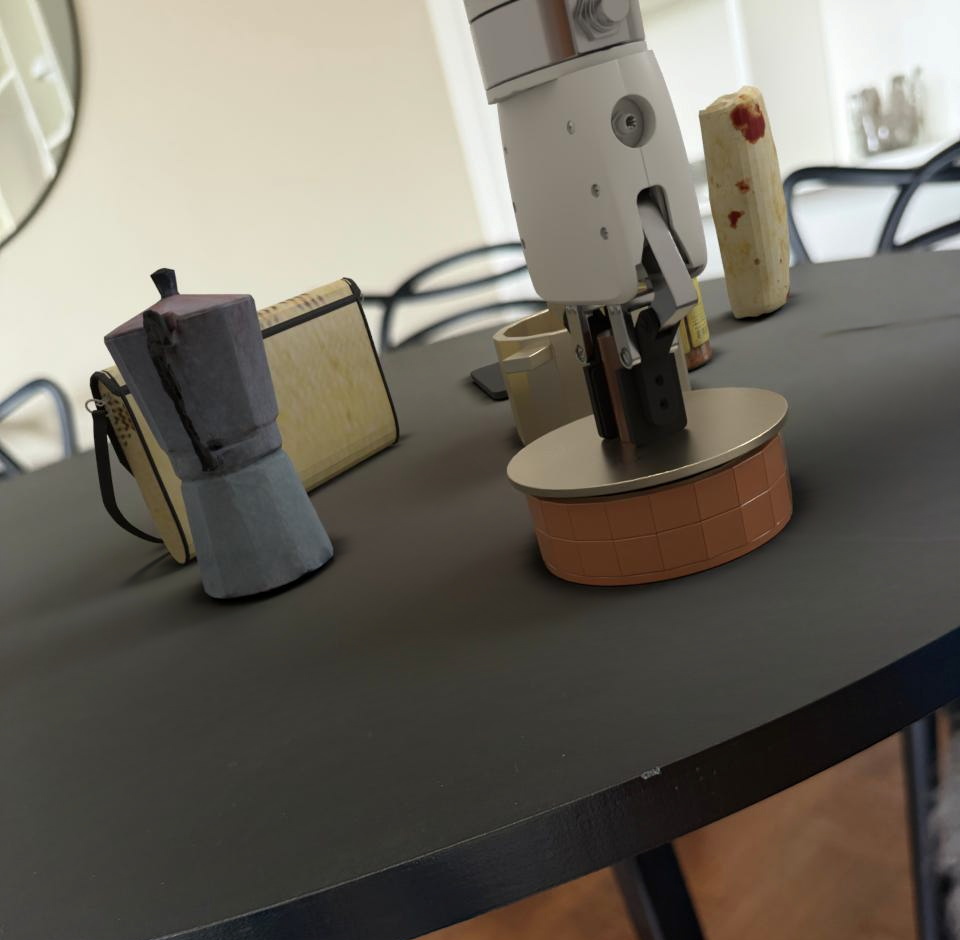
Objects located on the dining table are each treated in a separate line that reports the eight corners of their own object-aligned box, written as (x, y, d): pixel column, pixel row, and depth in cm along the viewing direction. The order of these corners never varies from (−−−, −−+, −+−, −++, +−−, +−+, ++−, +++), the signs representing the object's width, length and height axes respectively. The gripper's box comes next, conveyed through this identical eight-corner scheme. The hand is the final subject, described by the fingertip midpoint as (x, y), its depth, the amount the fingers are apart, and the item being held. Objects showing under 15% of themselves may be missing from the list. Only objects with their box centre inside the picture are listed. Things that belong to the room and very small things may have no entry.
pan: (829, 476, 56) (817, 397, 55) (731, 587, 47) (714, 497, 46) (615, 488, 65) (599, 420, 63) (498, 584, 56) (475, 508, 54)
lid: (831, 394, 55) (814, 268, 52) (719, 503, 45) (691, 354, 42) (595, 418, 64) (570, 312, 61) (458, 514, 54) (422, 392, 51)
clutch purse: (365, 441, 98) (312, 283, 92) (419, 436, 94) (367, 269, 88) (116, 579, 79) (28, 389, 73) (170, 580, 74) (81, 378, 68)
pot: (733, 372, 83) (714, 264, 80) (624, 457, 70) (596, 334, 67) (590, 390, 91) (568, 293, 88) (470, 469, 79) (438, 360, 75)
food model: (795, 314, 96) (760, 80, 88) (723, 330, 98) (683, 104, 90) (802, 293, 104) (771, 76, 96) (736, 308, 106) (700, 99, 98)
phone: (493, 393, 97) (467, 371, 111) (495, 402, 98) (469, 379, 111) (567, 370, 98) (532, 351, 111) (569, 378, 98) (534, 358, 112)
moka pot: (340, 522, 75) (241, 243, 67) (349, 592, 61) (225, 249, 53) (215, 562, 75) (101, 286, 67) (196, 642, 61) (47, 304, 53)
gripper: (736, -23, 40) (802, 424, 48) (549, 63, 54) (623, 398, 62) (574, 21, 38) (670, 481, 46) (423, 98, 52) (515, 441, 60)
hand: (642, 430), depth 54 cm, fingers closed on lid, 2 cm apart
